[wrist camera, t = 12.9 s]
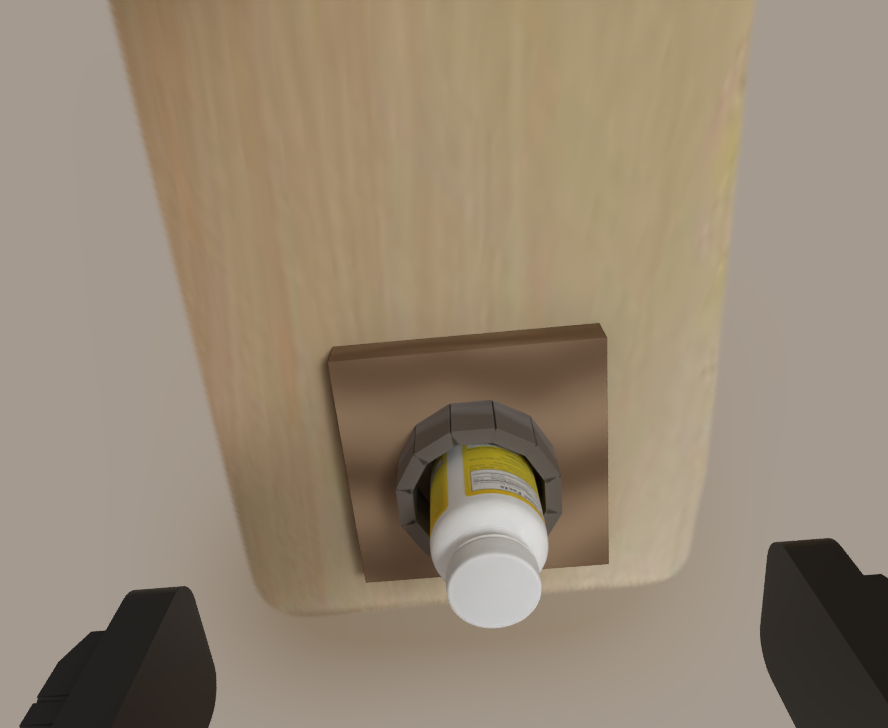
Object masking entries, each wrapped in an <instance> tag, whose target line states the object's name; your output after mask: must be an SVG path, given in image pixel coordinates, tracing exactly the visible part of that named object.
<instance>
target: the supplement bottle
mask: <svg viewBox="0 0 888 728" xmlns="http://www.w3.org/2000/svg"><path fill="white" fill-rule="evenodd" d="M430 551H431V557H432V561H433V563H434V566H435V568H436V570H437V572H438V573H439V575H440V576H441V577H442V578H443V579H444V580H445V581H446V590H447V598H448V601H449V604H450V606H451V608H452V609H453V611H454V612H455V613H456V614H457V615H458V616H459V617H460V618H461V619H463V620H464V621H466V622H468V623H470V624H472V625H475V626H479V627H484V628H501V627H506V626H510V625H513V624H515V623H518V622H520V621H521V620H523V619H524V618H526V617H527V616H528V615H529V614H530V613H531V612H532V611H533V610H534V609H535V607H536V606H537V604H538V602H539V599H540V596H541V580H540V572H541V570H542V568H543V567H544V564H545V562H546V559H547V555H548V535H547V529H546V525H545V521H544V517H543V512H542V508H541V503H540V499H539V495H538V490H537V486H536V482H535V477H534V473H533V469H532V465H531V463H530V461H529V460H528V459H527V457H526V456H524V455H522V454H519V453H517V452H514V451H512V450H509V449H507V448H504V447H502V446H499V445H497V444H494V443H485V444H473V445H461V446H455V447H454V448H452V449H450V450H449V451H447V452H446V453H444V454H442V455H441V456H439V457H437V458H436V459H434V460H433V461H432V465H431V476H430Z"/></svg>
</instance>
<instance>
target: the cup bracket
mask: <svg viewBox="0 0 888 728" xmlns="http://www.w3.org/2000/svg"><path fill="white" fill-rule="evenodd" d="M328 367H329V373H330V379H331V385H332V390H333V396H334V402H335V408H336V414H337V419H338V425H339V431H340V437H341V442H342V448H343V454H344V460H345V465H346V471H347V477H348V483H349V488H350V494H351V500H352V506H353V511H354V517H355V523H356V529H357V535H358V540H359V546H360V552H361V558H362V563H363V569H364V575H365V581H366V583H368V582H381V581H394V580H407V579H420V578H433V577H441V576H440V575H439V573H438V572H437V570H436V568H435V566H434V563H433V561H432V557H431V551H430V476H431V465H432V461H433V460H434V459H436V458H437V457H439V456H441V455H442V454H444V453H446V452H447V451H449V450H450V449H452V448H454V447H455V446H461V445H473V444H485V443H494V444H497V445H499V446H502V447H504V448H507V449H509V450H512V451H514V452H517V453H519V454H522V455H524V456H526V457H527V459H528V460H529V461H530V463H531V465H532V469H533V473H534V477H535V482H536V486H537V490H538V495H539V499H540V503H541V508H542V512H543V517H544V521H545V525H546V529H547V535H548V555H547V559H546V562H545V564H544V567H543V568H542V569H550V568H563V567H576V566H589V565H602V564H609V538H608V398H607V336H606V335H605V333H604V331H603V329H602V327H601V325H600V324H599V323H596V324H585V325H573V326H562V327H551V328H540V329H528V330H517V331H506V332H495V333H484V334H472V335H461V336H450V337H439V338H427V339H416V340H405V341H394V342H382V343H371V344H360V345H349V346H338V347H333V348H332V351H331V354H330V357H329V360H328Z"/></svg>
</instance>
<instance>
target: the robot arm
mask: <svg viewBox="0 0 888 728" xmlns="http://www.w3.org/2000/svg"><path fill="white" fill-rule="evenodd" d="M760 639H761V647H762V652H763V657H764V660H765V664H766V667H767V670H768V673H769V675H770V677H771V679H772V681H773V683H774V685H775V687H776V689H777V691H778V693H779V695H780V697H781V699H782V701H783V703H784V705H785V707H786V709H787V711H788V713H789V715H790V717H791V719H792V721H793V723H794V724H795V727H796V728H888V578H887V577H885V576H884V575H882V574H876V575H863V574H862V573H861V571H859V569H858V567H857V566H856V565H855V564H854V562H853V561H852V560H851V558H850V557H849V556H848V555H847V554H846V552H845V551H844V550H843V548H842V547H841V546H840V545H839V544H838V542H836V541H835V540H833V539H831V538H824V539H811V540H798V541H785V542H774V543H772V544H771V546H770V548H769V550H768V555H767V564H766V574H765V584H764V594H763V605H762V614H761V624H760ZM37 698H38V700H37V703H34V704H32V706H31V707H30V709H29V711H28V712H27V714H26V716H25V717H24V719H23V721H22V722H21V724H20V728H208V726H209V724H210V721H211V718H212V714H213V711H214V706H215V700H216V672H215V666H214V663H213V659H212V656H211V652H210V649H209V646H208V642H207V639H206V635H205V632H204V629H203V625H202V622H201V618H200V615H199V612H198V608H197V605H196V601H195V598H194V595H193V593H192V591H191V590H190V589H189V588H188V587H186V586H183V587H182V586H181V587H168V588H155V589H144V590H143V589H142V590H133V591H131V592H129V593H128V594H127V595H126V596H125V598H124V600H123V601H122V603H121V605H120V607H119V608H118V610H117V612H116V613H115V615H114V617H113V619H112V620H111V622H110V624H109V626H108V627H107V629H106V631H94V632H90V633H89V634H88V635H87V636H86V637H85V638H84V639H83V640H82V641H81V642H80V643H78V645H76V646H75V647H74V648H73V649H72V650H71V651H70V652H69V653H68V654H67V655H66V656H64V658H62V659H61V660H60V661H59V662H58V664H57V665H56V667H55V668H54V670H53V672H52V673H51V675H50V677H49V678H48V680H47V681H46V683H45V685H44V687H43V688H42V690H41V691H40V693H39V694H38V696H37Z"/></svg>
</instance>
